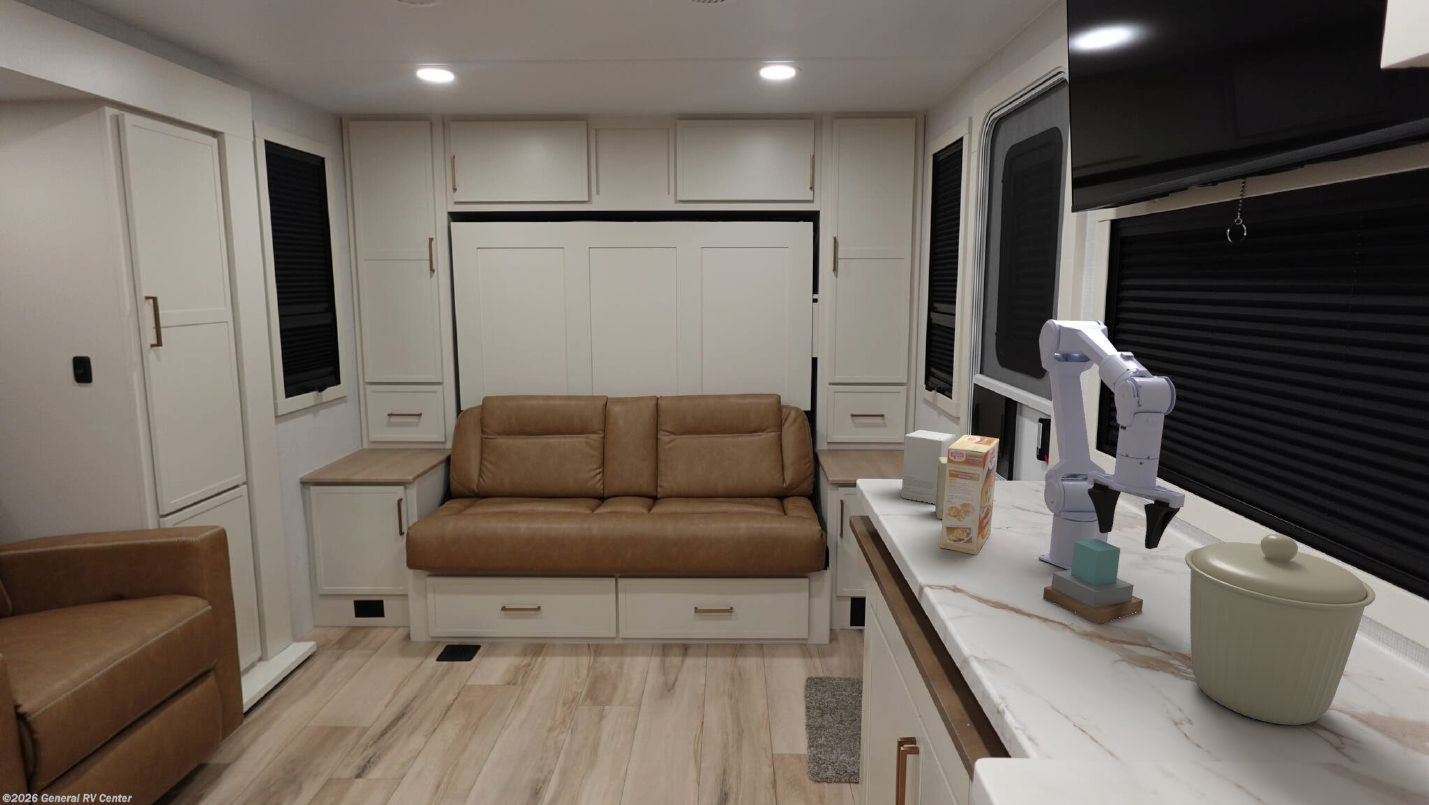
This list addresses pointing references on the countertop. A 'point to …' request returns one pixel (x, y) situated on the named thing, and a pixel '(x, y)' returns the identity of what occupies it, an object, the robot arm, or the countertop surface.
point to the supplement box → (923, 463)
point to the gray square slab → (1092, 590)
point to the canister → (1272, 627)
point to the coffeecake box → (969, 493)
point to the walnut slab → (1093, 614)
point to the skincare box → (940, 486)
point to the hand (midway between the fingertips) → (1127, 539)
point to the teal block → (1095, 561)
